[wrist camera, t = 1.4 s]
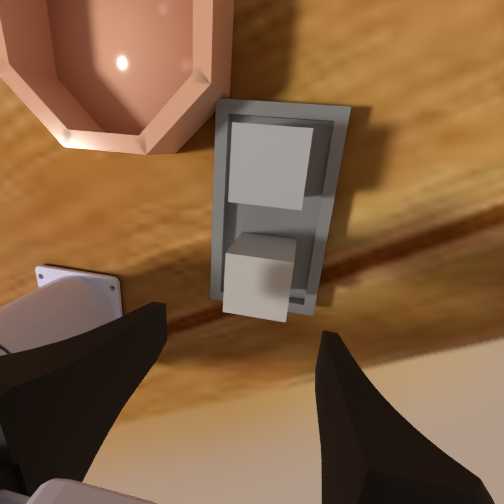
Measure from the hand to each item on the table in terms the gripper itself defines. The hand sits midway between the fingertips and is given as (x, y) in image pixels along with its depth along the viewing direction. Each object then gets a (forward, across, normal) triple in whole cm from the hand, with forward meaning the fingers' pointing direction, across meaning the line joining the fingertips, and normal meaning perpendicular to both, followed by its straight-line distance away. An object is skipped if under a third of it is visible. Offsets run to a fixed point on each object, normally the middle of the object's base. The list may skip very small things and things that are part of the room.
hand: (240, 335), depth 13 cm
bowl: (+10, +10, -14) cm, 19 cm away
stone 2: (+9, 0, -7) cm, 11 cm away
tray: (+10, 0, -4) cm, 10 cm away
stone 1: (+9, 0, 0) cm, 9 cm away
